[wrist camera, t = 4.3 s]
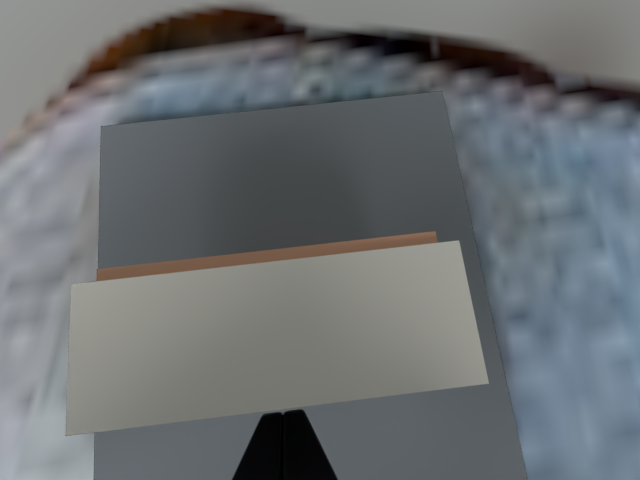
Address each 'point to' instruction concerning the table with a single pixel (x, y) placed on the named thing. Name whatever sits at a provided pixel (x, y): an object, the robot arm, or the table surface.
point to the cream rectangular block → (270, 332)
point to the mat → (294, 231)
